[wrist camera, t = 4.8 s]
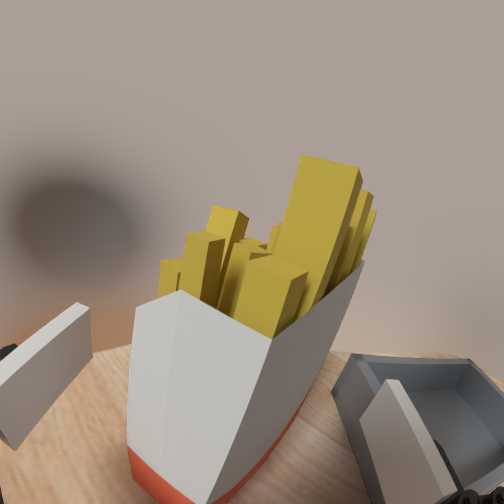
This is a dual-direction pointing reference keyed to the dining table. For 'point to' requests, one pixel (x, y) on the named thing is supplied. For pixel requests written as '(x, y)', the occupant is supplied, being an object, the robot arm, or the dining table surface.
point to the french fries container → (241, 337)
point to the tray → (431, 413)
